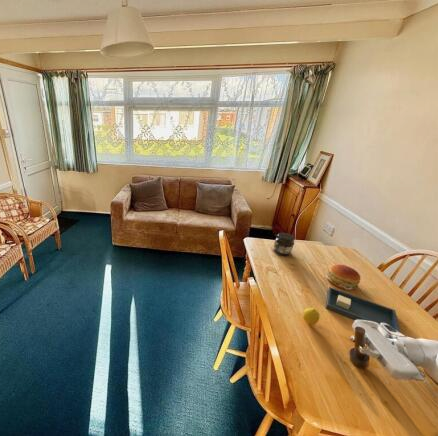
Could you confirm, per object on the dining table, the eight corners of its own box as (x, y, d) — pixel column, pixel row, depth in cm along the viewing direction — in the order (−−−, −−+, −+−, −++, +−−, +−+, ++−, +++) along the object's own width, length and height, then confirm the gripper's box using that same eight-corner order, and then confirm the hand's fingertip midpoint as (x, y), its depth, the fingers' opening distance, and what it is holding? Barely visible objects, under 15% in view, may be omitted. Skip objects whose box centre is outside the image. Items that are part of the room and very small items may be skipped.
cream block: (348, 304, 107) (351, 299, 106) (347, 309, 104) (350, 305, 103) (336, 299, 110) (338, 294, 108) (335, 304, 107) (337, 300, 105)
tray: (392, 315, 102) (395, 310, 101) (396, 338, 92) (400, 332, 90) (327, 291, 115) (329, 286, 114) (325, 309, 105) (327, 304, 104)
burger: (329, 288, 117) (336, 273, 113) (320, 272, 129) (326, 258, 124) (361, 294, 113) (369, 279, 109) (349, 277, 125) (356, 262, 120)
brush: (367, 356, 83) (368, 325, 77) (370, 370, 79) (372, 338, 74) (348, 352, 86) (348, 321, 80) (350, 365, 82) (351, 334, 76)
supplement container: (276, 246, 154) (280, 230, 149) (293, 252, 147) (298, 236, 142) (269, 251, 148) (273, 235, 143) (286, 258, 141) (292, 242, 136)
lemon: (300, 315, 102) (305, 302, 98) (315, 321, 99) (321, 307, 96) (300, 324, 98) (306, 311, 94) (316, 330, 95) (322, 316, 92)
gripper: (424, 388, 70) (373, 380, 72) (375, 331, 88) (335, 326, 90) (435, 375, 67) (382, 368, 69) (382, 319, 85) (341, 314, 87)
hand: (355, 343), depth 80 cm, fingers closed on brush, 3 cm apart
